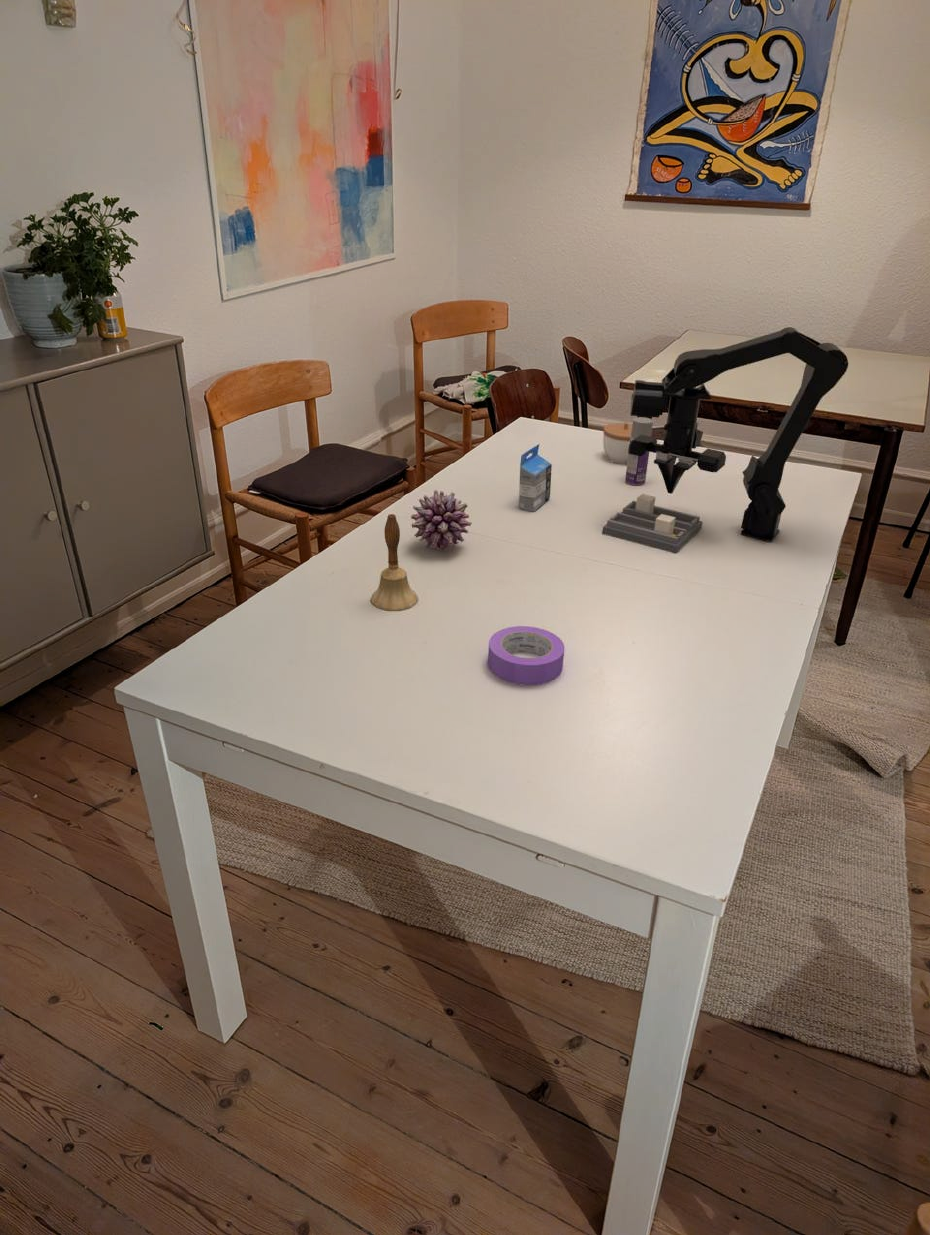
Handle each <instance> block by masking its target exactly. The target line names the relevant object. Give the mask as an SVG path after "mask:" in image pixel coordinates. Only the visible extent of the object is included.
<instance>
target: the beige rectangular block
mask: <svg viewBox="0 0 930 1235" xmlns="http://www.w3.org/2000/svg"><path fill="white" fill-rule="evenodd" d="M656 497H657V496H653V495H650V494H649V495H648V494H645V493H641V494H640V495H639V496H637V497H636V500H635V501H636V508H635V510H638V511H642V512H646V513H650V514H652V513H653V512H654V506H656V505H655V504H656Z"/></svg>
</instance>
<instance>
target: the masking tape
mask: <svg viewBox="0 0 930 1235" xmlns="http://www.w3.org/2000/svg"><path fill="white" fill-rule="evenodd" d="M519 650H520V651H519ZM521 650H522V651H521ZM514 651H516V652H529V651H530V652H531V653H534V654H537V655H539V654H540V656H536V657H523V656H518V655H514V654H512V653H515V652H514ZM487 652H488V655H487V666H488V669H489V670H490V672H492V674H493V675H495V677H497V678H499V679H500V680H503V681H505V680H506V681H505V682H507V681H508V683H510V682H511V684H514V683H516V684H515V685H520V684H523V686H536V685H542V684H543V683H544V684H547V683H549V682H552V681H554V680H555V679H557V678H558V677H559V676H560V675H561V673H562V671H563V667H564V658H565V657H564V656H565V644H564V642H563V641H562V639H561V638H560V637H559V636H557V635H556V634H555V633H553V632H551V631H549V630H546V629H544V628H539V627H535V626H527V625H518V626H517V625H516V626H515V625H514V626H509V627H506V628H505V627H504V628H503V629H499V630H498V631H496V632H495V633H494V634H492V635H491V636H490V639H489V641H488V650H487ZM511 652H512V653H511ZM551 680H552V681H551ZM544 684H543V685H544Z"/></svg>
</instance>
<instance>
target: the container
mask: <svg viewBox="0 0 930 1235" xmlns="http://www.w3.org/2000/svg"><path fill="white" fill-rule="evenodd" d="M632 424H633V425H632V432H631V438H630V442H631V441H632V440H634V439H635V438H637V437H638V436H640V435H645V436H650V437H652V435H653V434H652V433H653V426H654V425H653V424H654V420H653V419H652V418H650V417H643V416H637V417H634V418H633V420H632ZM649 457H650V452H648V451H646V453H645V454H644V455H643V456H636V455H632V454H628V461H627V464H626V470H625V471H626V472H625V479H624V482H625V484H627V485H629V486H635V487H640V486H644V485H645V484H646V478H647V472H648V464H649Z"/></svg>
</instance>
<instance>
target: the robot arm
mask: <svg viewBox="0 0 930 1235" xmlns="http://www.w3.org/2000/svg"><path fill="white" fill-rule="evenodd" d="M785 354H790V355H792V356H793V357H795V358H797V359H798V360H800V361H802V363H805V366H804V369H803V374H802V380H801V384H800V387H799V389H798V391H797V393H796V395H795V397H794V399H793V401H792V402H791V404H790V405H789V408H788V409H787V412H786V413H785V416H784V417H783V419H782V421H781V423H780V425H779V426H778V428H777V430H776V432H775V433H774V435H773V438H772V439H771V441H770V443H769V444H768V447H767V449H766V450H765V452H764V453H762V454H761V455H760V456H759V457H758V458H757V457H756V456H754V455H752V456H751V457H750V458H749V459H750V460H749V462H748V465H747V467H746V468H745V469H744V470H743V471H742V475H743V480H742V483H743V486H744V489H745V491H746V494H747V496H748V499H749V500H750V502H749V504H747V507H746V508H745V510H744V512H743V516H742V517H743V518H742V522H741V525H740V528H741V531H740V535H741V536H745V537H750V538H752V539H757V540H762V541H766V542H770V543H771V542H773V541H774V539H776V537H777V536H778V534H779V533H780V529H779V526H780V522H781V517H782V513H783V512H784V510H785V509H786V506H787V505H786V503H785V501H784V499H783V496H782V494H781V492H780V491H779V488H780V486H781V482H782V479H783V478H782V477H783V474H784V470H785V464H786V462H787V460H788V459H789V457H790V455H791V454H792V451H793V449H794V448H795V446H796V444H797V442H798V441H799V439H800V437H801V435H802V434H803V432H804V430H805V428H806V426H807V425H808V423H809V421H810V420H811V418H812V416H813V413H814V412H815V411H816V409H817V406H818V405H819V404H820V402H821V400H822V399H823V397H824V396H826V395H827V394H828V392H830V391H831V390H832V389H833V388H835V386H836V385H837V384H838V383H839V382H840V380H841V379H842V378H843V376H844V375H845V373H846V372H847V370H848V368H849V361H848V356H847V355H846V354H845V352H843V350H841V348H839V347H838V345H836V344H834V343H832V342H822V343H821V342H819V341H817V340H816V339H814V338H812V337H810V336H808V335H805V334H804V333H801V332H799V331H798V330H797V329H796V328H795V327H790V326H788V327H784V328H783V329H780V330H778V331H775V332H771V333H769V334H765V335H761V336H759V337H754V338H752V339H748V340H745V341H742V342H739V343H735V344H731V345H729V346H725V347H721V348H713V349H712V348H711V349H708V348H707V349H705V348H704V349H703V348H702V349H695V350H688V351H685V352H682V353H680V354H679V355H678V356H677V358H675V361H674V363H673V367H672V369H671V370H670V371H669V372H668V373H667V374H666V375H665V376H664V377H663V378H662V380H661V382H654V381H653V382H652V381H645V380H641V379H637V380H635V381H634V382H635V383H634V387H633V392H632V394H631V401H630V410H629V415H630V416H631V417H644V418H656V419H657V418H660V416H663V414H665V413H666V411H667V405H668V411H667V417H666V422H665V423H666V424H664V426H663V430H664V438H663V444H662V443H661V444H660V443H658V440H657V437H655V436H651V437H650V436H645V435H640V436H638V437H637V438H635V439H634V440H632V441H631V442H630V444H629V449H628V453H629V454H632V455H636V456H643V455H644V454H645V453H646V451H648V452H649V453H653V454H656V455H655V459H654V460H653V464H655V465H656V466H658V468H659V471H660V474H661V475H662V478H663V481H664V482H663V483H664V486H665V489H666V492H667V494H673V493H674V491H675V490H676V487H677V486H678V484H679V482H680V480H681V479H682V476H683V475H684V474H685V472H686V471H689V470H690V469H691V468H693V466H695V465H696V466H697V467H698V469H699V470H701V471H705V472H709V473H718V472H719V471H720V470H721V469H722V468H723V467H724V466H725V465H726V459H727V455H726V453H725V451H720V450H716V449H712V448H706V449H705V450H704V451H702V452H700V451H699V452H698V451H693V450H694V449H697V447H698V448H700V446H701V445H700V444H701V441H702V438H703V435H704V434H703V433H704V432H703V431H702V430H699V429H698V427H699V426H698V424H699V422H697V421H698V414H699V408H700V403H701V400H708V401H709V400H711V399H712V396H711V392H710V391H709V390H708V389H707V388H706V386H705V384H706V383H708V382H710V381H712V380H713V379H715V378H716V377H718V376H719V375H721V374H723V373H725V372H728V371H730V370H734V369H738V368H740V367H744V366H748V365H751V364H754V363H757V362H762V361H764V360H768V359H772V358H775V357H777V356H781V355H782V356H783V355H785ZM668 397H669V403H668ZM677 460H678V461H677Z"/></svg>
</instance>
